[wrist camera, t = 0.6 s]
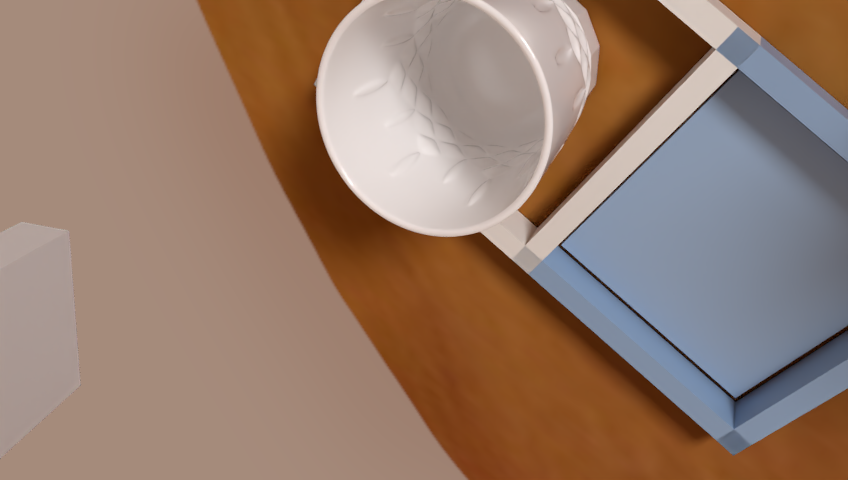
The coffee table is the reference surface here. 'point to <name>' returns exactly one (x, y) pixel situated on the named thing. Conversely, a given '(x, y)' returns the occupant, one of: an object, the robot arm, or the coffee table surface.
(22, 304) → the robot arm
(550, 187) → the coffee table surface
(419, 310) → the coffee table surface
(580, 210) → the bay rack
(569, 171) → the coffee table surface
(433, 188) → the white cup
